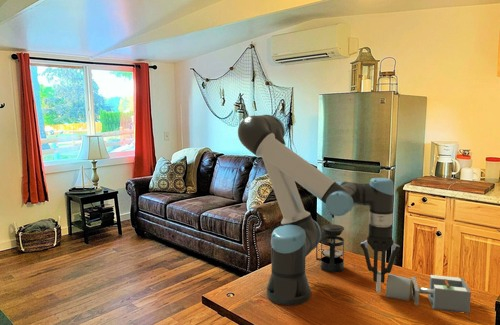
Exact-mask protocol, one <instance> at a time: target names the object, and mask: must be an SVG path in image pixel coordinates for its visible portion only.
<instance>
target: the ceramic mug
mask: <svg viewBox="0 0 500 325" xmlns="http://www.w3.org/2000/svg"><path fill="white" fill-rule="evenodd" d="M412 287H413V281H412V280H411V278H407V277H404V276H400V275H396V274H392V273H387V279H386V286H385V297H386V298H391V299H396V300H401V301H402V300H403V301H411V300H412V299H413V296H412Z"/></svg>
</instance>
